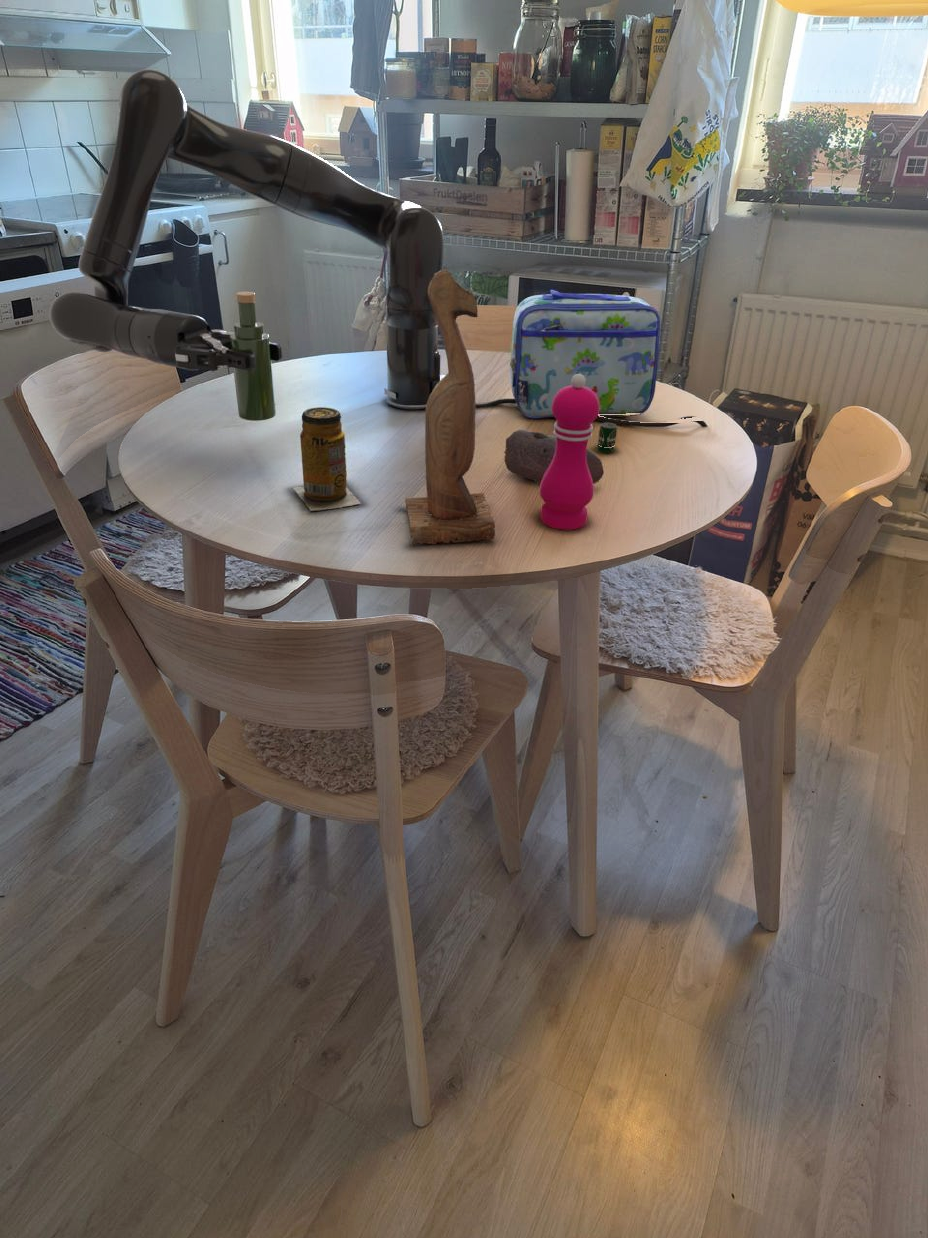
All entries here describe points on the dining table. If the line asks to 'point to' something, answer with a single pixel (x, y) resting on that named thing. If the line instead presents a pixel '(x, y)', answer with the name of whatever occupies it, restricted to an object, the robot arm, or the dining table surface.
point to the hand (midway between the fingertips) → (266, 357)
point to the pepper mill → (570, 458)
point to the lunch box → (584, 351)
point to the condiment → (324, 461)
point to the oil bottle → (256, 383)
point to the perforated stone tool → (539, 455)
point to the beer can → (607, 437)
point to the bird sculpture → (450, 433)
